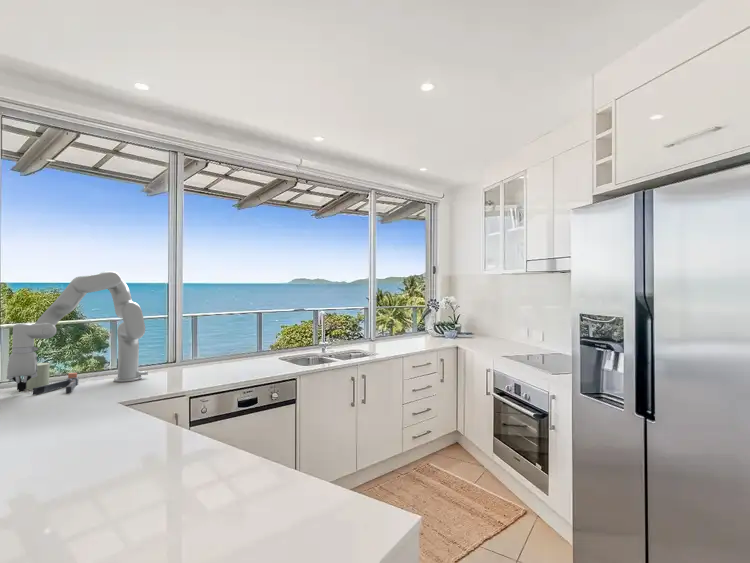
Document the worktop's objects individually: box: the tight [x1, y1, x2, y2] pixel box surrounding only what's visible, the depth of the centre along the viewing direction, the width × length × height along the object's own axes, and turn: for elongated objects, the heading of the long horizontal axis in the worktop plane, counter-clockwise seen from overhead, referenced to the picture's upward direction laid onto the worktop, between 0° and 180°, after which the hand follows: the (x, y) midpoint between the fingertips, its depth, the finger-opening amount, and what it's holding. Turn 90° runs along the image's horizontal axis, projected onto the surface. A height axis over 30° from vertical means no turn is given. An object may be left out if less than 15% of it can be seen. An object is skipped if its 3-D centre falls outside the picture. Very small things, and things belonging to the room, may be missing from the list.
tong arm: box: [32, 379, 69, 396], centre depth 193 cm, size 18×2×3 cm, turn 175°
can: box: [25, 362, 51, 391], centre depth 200 cm, size 9×9×12 cm
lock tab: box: [67, 372, 78, 378], centre depth 206 cm, size 2×3×2 cm
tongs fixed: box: [65, 376, 79, 394], centre depth 197 cm, size 23×5×3 cm, turn 30°
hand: (21, 391), depth 185 cm, fingers closed
